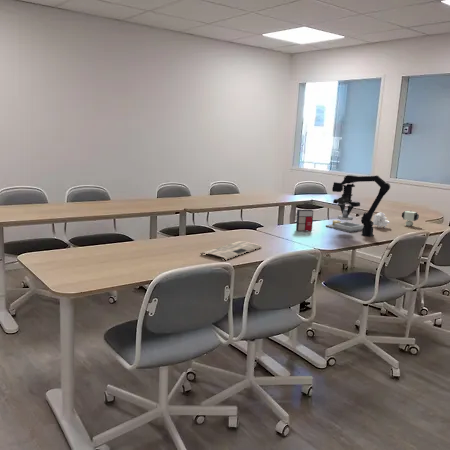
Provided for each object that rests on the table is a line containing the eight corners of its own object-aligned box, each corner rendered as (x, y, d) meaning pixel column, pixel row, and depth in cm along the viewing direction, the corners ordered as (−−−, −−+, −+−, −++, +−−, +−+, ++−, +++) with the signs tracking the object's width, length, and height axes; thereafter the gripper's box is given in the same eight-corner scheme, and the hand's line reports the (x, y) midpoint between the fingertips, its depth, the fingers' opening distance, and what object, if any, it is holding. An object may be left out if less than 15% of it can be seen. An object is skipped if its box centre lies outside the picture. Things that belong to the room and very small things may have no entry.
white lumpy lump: (389, 229, 347) (391, 214, 345) (373, 228, 349) (374, 213, 347) (387, 226, 358) (389, 211, 355) (371, 225, 360) (373, 210, 358)
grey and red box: (297, 231, 329) (299, 210, 326) (295, 230, 334) (297, 209, 330) (312, 231, 332) (313, 210, 329) (310, 229, 336) (311, 209, 333)
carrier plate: (363, 229, 344) (364, 224, 343) (350, 232, 333) (350, 226, 332) (339, 224, 360) (339, 219, 359) (325, 226, 349) (326, 221, 348)
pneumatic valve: (415, 227, 360) (417, 212, 357) (400, 224, 367) (402, 209, 365) (418, 226, 364) (419, 211, 361) (403, 223, 371) (404, 209, 369)
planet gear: (355, 219, 329) (356, 210, 328) (347, 220, 322) (348, 211, 321) (342, 216, 337) (343, 208, 336) (334, 218, 330) (335, 209, 329)
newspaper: (225, 262, 250) (225, 257, 249) (197, 255, 261) (198, 250, 260) (261, 249, 279) (261, 244, 279) (235, 243, 290) (235, 239, 290)
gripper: (329, 192, 327) (327, 213, 330) (352, 195, 314) (350, 218, 317) (338, 190, 335) (336, 212, 338) (361, 194, 321) (359, 216, 324)
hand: (345, 214), depth 329 cm, fingers closed on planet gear, 4 cm apart
